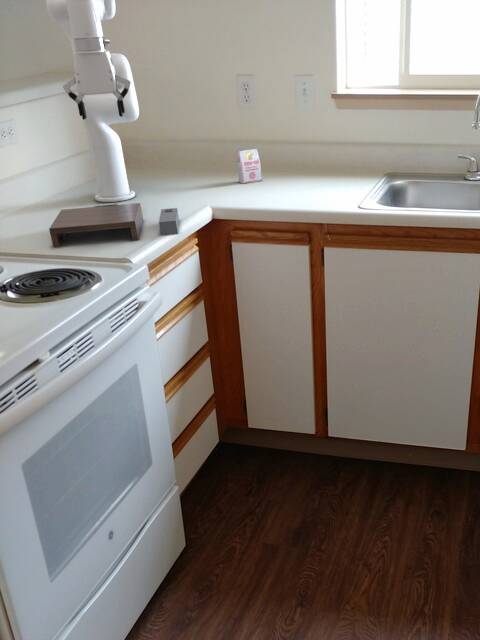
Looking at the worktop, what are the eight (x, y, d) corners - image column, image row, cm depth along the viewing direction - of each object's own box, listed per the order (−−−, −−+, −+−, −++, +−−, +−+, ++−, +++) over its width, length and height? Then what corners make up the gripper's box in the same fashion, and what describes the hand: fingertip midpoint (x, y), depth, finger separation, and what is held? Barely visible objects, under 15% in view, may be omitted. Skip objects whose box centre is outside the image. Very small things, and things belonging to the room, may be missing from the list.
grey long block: (163, 221, 215) (161, 208, 213) (179, 220, 216) (177, 207, 214) (160, 235, 203) (158, 221, 201) (177, 233, 204) (175, 220, 202)
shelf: (65, 227, 215) (61, 209, 213) (143, 220, 217) (140, 202, 215) (53, 247, 198) (48, 228, 196) (138, 240, 200) (134, 221, 198)
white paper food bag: (239, 181, 255) (235, 150, 250) (257, 178, 257) (254, 147, 252) (242, 183, 252) (239, 152, 247) (261, 180, 254) (258, 149, 249)
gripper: (125, 42, 198) (136, 113, 207) (57, 47, 196) (72, 117, 205) (122, 44, 191) (134, 117, 200) (52, 49, 190) (68, 122, 198)
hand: (103, 117), depth 203 cm, fingers open, 9 cm apart
